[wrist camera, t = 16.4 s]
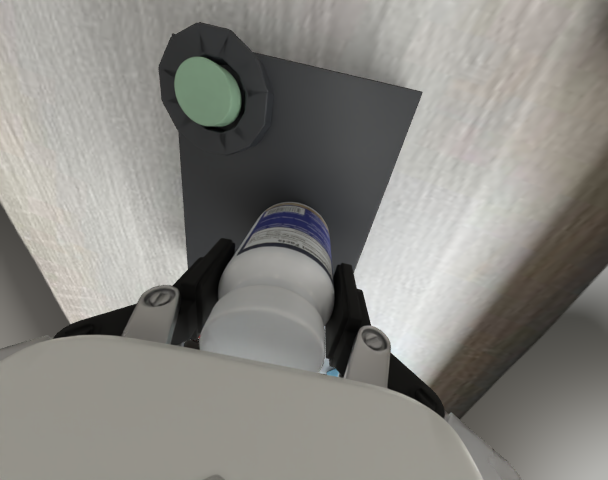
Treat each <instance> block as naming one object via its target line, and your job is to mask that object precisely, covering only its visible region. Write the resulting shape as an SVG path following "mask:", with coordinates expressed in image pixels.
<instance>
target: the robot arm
mask: <svg viewBox="0 0 608 480" xmlns="http://www.w3.org/2000/svg"><path fill="white" fill-rule="evenodd" d="M234 254H235V243H233V242H232V240H231V239H226V238H221V239H220V240H219V241H218V242H217V243H216V244H215V245H214V246H213V247H212V248H211V250H210V251H209V252H208V253H207V254H206V255H205V256H204V257H200V258H198V259H197V260H196V261H195V263H194V264H193V265H192V266H191V267H190V268H189V269H188V270H187V271H186V272H185V273H184V274H183V275H182V276H181V277H180V279H179V280H178V281H177V282H176V283H175V284H174V285H173V286H170V285H162V286H156V287H153V288H151V289H149V290H147V291H146V292H144V293H143V294H142V295H141V297H140V298H139V301H138V303H137V304H134V305H131V306H127V307H124V308H121V309H117V310H114V311H111V312H107V313H104V314H101V315H97V316H94V317H91V318H87V319H84V320H81V321H78V322H75V323H73V324H70V325H69V326H67V327H65V328H63V329H62V330H61V331H60V332H58V333H57V334H56V335H55V337H51V338H49V336H48V335H47V336H43V337H40V338H36V339H33V340H29V341H26V342H22V343H19V344H16V345H12V346H8V347H5V348H2V349H0V480H522V479H521V477H520V476H519V475H518V473H517V472H516V471H515V469H514V468H513V467H512V466H511V465H510V464H509V463H508V462H507V461H506V460H505V459H504V458H503V457H502V456H501V455H500V454H498V453H497V452H496V451H495V450H494V449H493V448H491V447H490V446H489V445H488V444H487V443H486V442H485V441H483V440H482V439H481V438H480V437H479V436H478V435H477V434H475V433H474V432H473V431H472V430H471V429H470V428H469V427H467V426H466V425H465V424H464V423H463V422H462V421H461V420H459V419H458V418H457V417H456V416H455V415H454V414H453V413H450V414H448V413H447V412H446V411H445V410H444V407H443V405H442V402H441V400H440V399H439V397H438V396H437V395H436V393H435V392H434V391H433V390H432V389H431V388H430V387H428V386H427V385H426V384H425V383H424V382H423V381H422V380H421V379H419V378H418V377H417V376H416V375H415V374H414V373H413V372H412V371H411V370H409V369H408V368H407V367H406V366H405V365H404V364H403V363H402V362H400V361H399V360H398V359H397V358H396V357H395V356H394V355H393V354H392V353H390V351H391V345H390V341H389V339H388V337H387V336H386V335H385V334H384V333H383V332H382V331H381V330H379V329H378V328H376V327H373V326H371V324H370V320H369V315H368V311H367V307H366V303H365V299H364V295H363V292H362V290H360V289H357V288H356V283H355V279H354V274H353V269H352V265H350V264H346V263H341V265H337V267H336V270H335V273H334V276H333V280H334V292H335V301H334V308H333V312H332V314H331V317H330V319H329V321H328V322H327V324H326V325H325V340H326V358H328V359H329V365H330V366H331V367H335V369H336V370H337V371H338V372H339V374H338V377H336V376H331V375H326V374H321V373H316V372H311V371H306V370H301V369H296V368H291V367H286V366H281V365H275V364H270V363H265V362H260V361H255V360H250V359H245V358H239V357H234V356H229V355H224V354H219V353H213V352H208V351H203V350H197V349H192V348H187V347H184V342H185V341H187V340H189V339H192V340H198V338H199V336H200V334H201V331H202V329H203V327H204V325H205V323H206V321H207V319H208V317H209V316H210V314H211V311H212V309H213V307H214V306H215V304H216V303H217V302H218V301H219V300H218V286H219V281H220V278H221V276H222V274H223V272H224V270H225V268H226V266H227V264H228V263H229V261H230V260H231V259H232V257H233V255H234Z"/></svg>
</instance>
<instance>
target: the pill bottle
mask: <svg viewBox="0 0 608 480" xmlns="http://www.w3.org/2000/svg"><path fill="white" fill-rule="evenodd" d="M218 300H219V301H218V302H217V303H216V304H215V306H214V307H213V309H212V311H211V314H210V316H209V317H208V319H207V321H206V323H205V325H204V327H203V329H202V331H201V334H200V339H199V346H200V350H203V351H208V352H213V353H219V354H224V355H229V356H234V357H239V358H245V359H250V360H255V361H260V362H265V363H270V364H275V365H281V366H286V367H291V368H296V369H301V370H306V371H311V372H316V373H319V372H320V370H321V368H322V366H323V363H324V359H325V329H324V326H325V325H326V324H327V322H328V321H329V319H330V317H331V314H332V312H333V308H334V301H335V292H334V280H333V268H332V257H331V246H330V236H329V230H328V227H327V225H326V223H325V221H324V220H323V218H322V217H321V216H320V215H319V214H318V213H317V212H316V211H315V210H314V209H312V208H310V207H309V206H306V205H304V204H301V203H296V202H283V203H279V204H276V205H273V206H271V207H270V208H268V209H267V210H265V211H264V212H263V213H262V214H261V215H260V217H259V218H258V219H257V221H256V222H255V224H254V225H253V227H252V228H251V230H250V231H249V233H248V234H247V236H246V238H245V239H244V241H243V242H242V244H241V245H240V247H239V248H238V250H237V251H236V253H235V254H234V255H233V257H232V259H231V260H230V261H229V263H228V264H227V266H226V268H225V270H224V272H223V274H222V276H221V278H220V281H219V286H218Z"/></svg>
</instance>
